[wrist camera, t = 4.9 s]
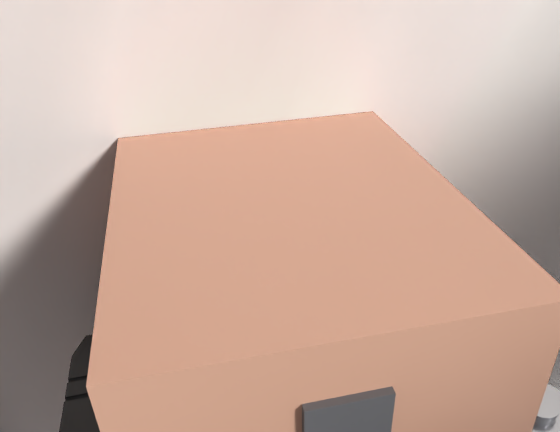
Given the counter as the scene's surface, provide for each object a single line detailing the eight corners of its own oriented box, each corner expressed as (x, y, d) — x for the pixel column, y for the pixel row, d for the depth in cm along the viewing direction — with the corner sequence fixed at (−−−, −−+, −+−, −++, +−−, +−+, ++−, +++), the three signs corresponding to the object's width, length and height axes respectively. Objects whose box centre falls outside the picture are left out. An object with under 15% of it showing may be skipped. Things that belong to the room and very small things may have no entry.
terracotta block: (372, 111, 11) (581, 305, 6) (355, 385, 15) (465, 642, 10) (118, 138, 10) (84, 395, 5) (174, 420, 14) (189, 723, 9)
